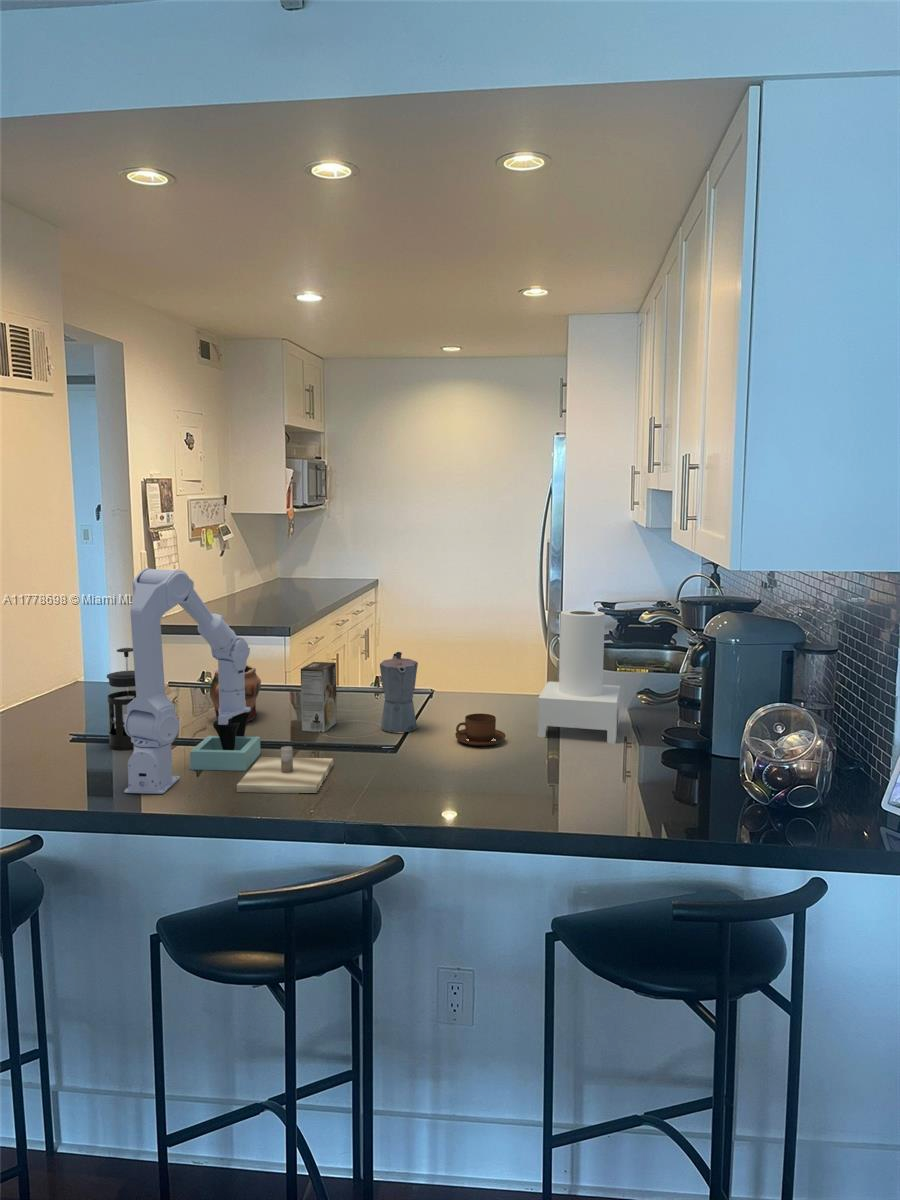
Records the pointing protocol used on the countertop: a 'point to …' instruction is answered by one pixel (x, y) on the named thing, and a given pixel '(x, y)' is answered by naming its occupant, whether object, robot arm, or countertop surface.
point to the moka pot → (398, 694)
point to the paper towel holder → (580, 679)
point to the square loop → (225, 754)
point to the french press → (120, 706)
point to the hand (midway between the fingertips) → (233, 747)
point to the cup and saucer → (479, 730)
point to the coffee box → (318, 696)
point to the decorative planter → (250, 690)
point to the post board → (286, 774)
